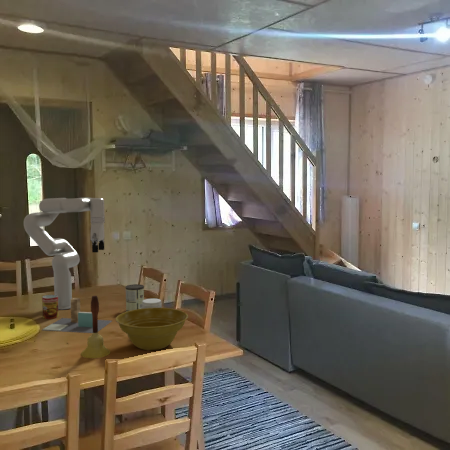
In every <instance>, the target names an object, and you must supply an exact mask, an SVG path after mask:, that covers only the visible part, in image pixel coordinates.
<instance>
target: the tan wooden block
mask: <svg viewBox="0 0 450 450" xmlns="http://www.w3.org/2000/svg"><path fill="white" fill-rule="evenodd" d="M79 312H81V297H72V299H71V308H70V318H71V322H74V323H78V313H79Z"/></svg>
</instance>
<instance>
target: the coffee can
mask: <svg viewBox="0 0 450 450" xmlns="http://www.w3.org/2000/svg"><path fill="white" fill-rule="evenodd" d="M144 288H145V285H144V284H135V283H134V284H128V285H125V308H126V309H125V312H127V311H131V310H136V309H142V301H143V300H145V289H144Z"/></svg>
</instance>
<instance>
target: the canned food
mask: <svg viewBox="0 0 450 450" xmlns="http://www.w3.org/2000/svg"><path fill="white" fill-rule="evenodd" d="M41 301H42V303H41V304H42V306H41V307H42V319H45V320H53V319H57V318H58V317H59V310H58V295H55V294H45V295H42V297H41Z"/></svg>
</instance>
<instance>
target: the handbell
mask: <svg viewBox="0 0 450 450" xmlns="http://www.w3.org/2000/svg"><path fill="white" fill-rule="evenodd" d="M90 312H91V313H92V318H93V333H91V335H90V336H88V338H87V346H86V348H85V349H84V350H82V351H81V353H80V355H81V357H82V358H87V359H98V358H99V359H100V358H101V359H102V358H105V357H107V356H109V355H110V354H111V351H110V349H109V348H107V347H106V346H105V344H104V337H103V336H102V335H101V334H99V331H98V320H99V319H98V318H99V316H98V315H99V312H100V302H99V298H98V295H92V296H91V300H90Z"/></svg>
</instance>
